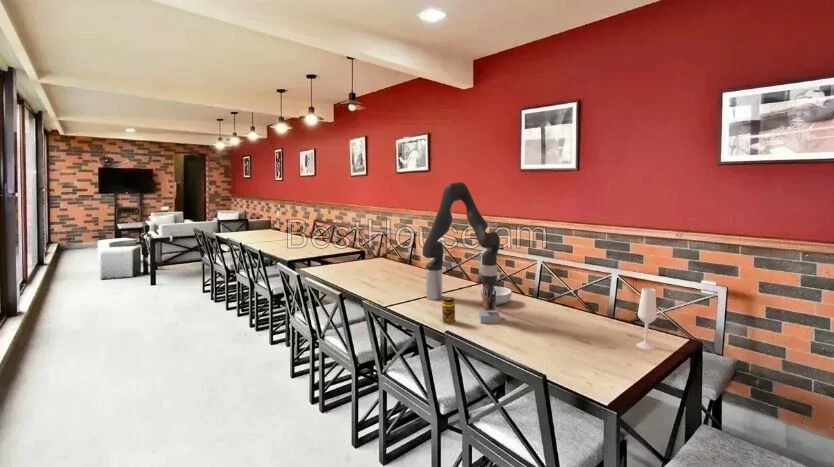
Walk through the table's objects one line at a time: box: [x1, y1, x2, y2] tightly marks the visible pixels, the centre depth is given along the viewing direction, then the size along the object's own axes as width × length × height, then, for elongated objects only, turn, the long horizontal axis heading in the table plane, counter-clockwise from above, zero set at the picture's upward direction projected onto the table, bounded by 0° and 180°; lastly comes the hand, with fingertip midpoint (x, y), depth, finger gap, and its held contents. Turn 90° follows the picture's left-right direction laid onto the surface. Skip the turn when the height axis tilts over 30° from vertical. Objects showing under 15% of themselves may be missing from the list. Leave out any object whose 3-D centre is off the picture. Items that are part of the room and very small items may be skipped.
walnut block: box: [482, 294, 497, 311], centre depth 204 cm, size 5×5×7 cm
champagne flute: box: [635, 287, 658, 351], centre depth 169 cm, size 7×7×24 cm
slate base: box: [478, 309, 501, 324], centre depth 205 cm, size 9×9×4 cm
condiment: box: [438, 296, 459, 326], centre depth 204 cm, size 7×8×12 cm
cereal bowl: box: [480, 286, 512, 306], centre depth 232 cm, size 17×17×7 cm
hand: (489, 307), depth 205 cm, fingers closed on walnut block, 5 cm apart
